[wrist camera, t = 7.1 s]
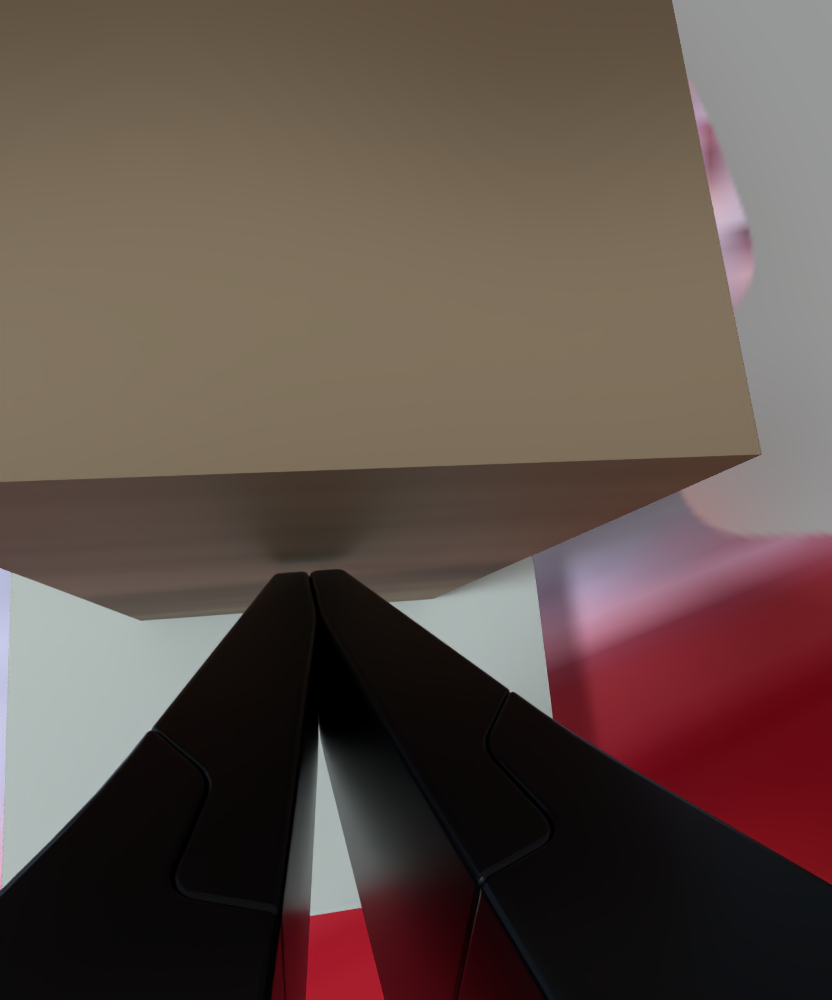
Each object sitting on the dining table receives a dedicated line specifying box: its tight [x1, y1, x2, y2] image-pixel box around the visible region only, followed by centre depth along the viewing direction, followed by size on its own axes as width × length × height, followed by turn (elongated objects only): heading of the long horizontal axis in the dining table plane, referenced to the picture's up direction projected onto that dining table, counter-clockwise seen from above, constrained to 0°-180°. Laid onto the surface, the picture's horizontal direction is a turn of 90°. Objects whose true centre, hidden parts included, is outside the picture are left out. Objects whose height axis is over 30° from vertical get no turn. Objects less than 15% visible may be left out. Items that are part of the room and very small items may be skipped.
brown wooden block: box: [0, 0, 761, 621], centre depth 10 cm, size 5×6×11 cm
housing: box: [2, 555, 553, 916], centre depth 14 cm, size 14×11×6 cm
